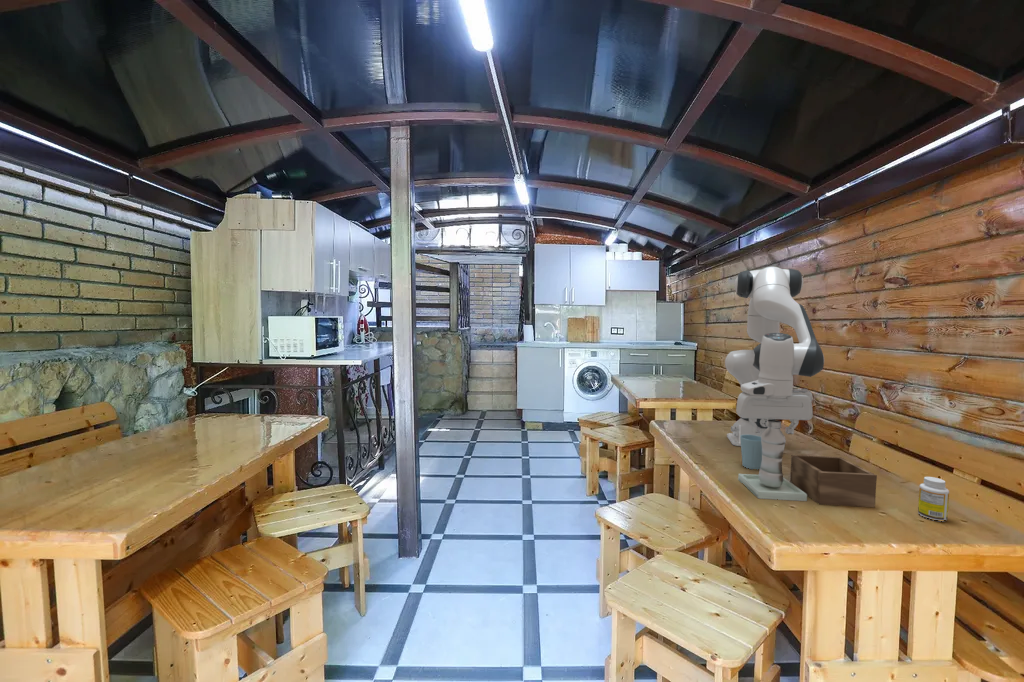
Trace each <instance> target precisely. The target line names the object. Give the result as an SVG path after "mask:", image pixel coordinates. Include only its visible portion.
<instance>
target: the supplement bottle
mask: <svg viewBox="0 0 1024 682" xmlns="http://www.w3.org/2000/svg"><path fill="white" fill-rule="evenodd" d="M923 477H924V478H923V483H920V484H919V487H918V505H917V513H918V515H919V514H920V515H919V516H921V517H922V516H924V517H927V518H930V519H934V520H946V521H947V520H948V517H949V516H948V514H949V501H950V490H949V489H948V488H947V487H946V481H945V480H944V479H941V478H938V477H934V476H923ZM924 517H923V518H924ZM927 518H926V519H927ZM930 519H929V520H930ZM934 520H933V521H934Z"/></svg>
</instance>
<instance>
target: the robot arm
mask: <svg viewBox="0 0 1024 682" xmlns="http://www.w3.org/2000/svg"><path fill="white" fill-rule="evenodd" d="M803 277H804V276H803V275H802V273H801V271H800V270H799V269H794V268H788V269H784V268H781V267H778V266H766V267H764V268H762V269H755V270H749V269H747V270H744V271H743V270H742V271H740V272H739V273H737V276H736V278H735V280H734V284H733V285H734V287H733V288H734V290H735V292H736V295H737V296H738V297H740V298H744V299H748V298H750V299H749V303H748V309H747V318H746V319H747V321H746V323H747V324H746V334H747V336H748V337H749V338H750V339H752V340H754V341H756V342H758V343H759V344H758V345H757V346H755V347H754V348H753V349H740V350H739V349H738V350H737V349H736V350H733V351H729V352H728V354H727V355H726V356H725V359H724V366H725V369H726V370H727V373H729V374H730V375H732V376H733V377H734V378H735V379H736V381H738V384H739V385H740V391H742V392H740V393H739V395H738V396H737V400H736V407H735V409H736V411H735V412H736V414H737V416H739V417H740V418H739V419H738V420H737V421H735V422H734V423H733V425H731V426H730V431H731V432H728V433H726V437H727V439H728V440H729V441H730V443H731V445H732V446H737V447H741V439H740V436H741V435H756V436H760V437H761V436H762V433H763V432H764V431H765V430H766V429H767V428H768V427H767V420H787V421H788V420H789V422H790V424H789V425H788V426H786V427H785V433H786V434H787V435H794V434H795V429H796V428H797V426H798V425H799V421H810V420H811V419H812V418H813V416H814V414H813V412H814V410H813V404H812V401H813V393H812V392H811V390H809V389H808V388H796V387H795V388H794V375H798V376H802V377H810V378H812V377H813V376H816V375H817V374H819V373H820V372H822V370H824V366H825V356H824V352H823V350H822V348H821V346H820V344H819V343H818V340H817V338H816V335H815V331H814V330H813V327H812V324H811V321H810V318H809V315H808V314H807V310H806V309H805V307H804V306H803V305H802V304H801V303H798V302H797V301H796V300H795V299H794V298H795V297H797V296H798V295H799V294H800V293H801V290H802V289H803V287H804V278H803ZM780 323H782V324H785V325H788V326H789V327H791V328H792V329H793V330H794V332H795V334H796V337H797V341H798V343H794V339H793V336H792V335H790V334H788V333H783V332H780V328H781V327H780V325H781V324H780Z"/></svg>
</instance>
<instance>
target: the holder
mask: <svg viewBox="0 0 1024 682" xmlns="http://www.w3.org/2000/svg"><path fill="white" fill-rule="evenodd" d="M790 457H791V459H790V474H789V482H791V483H792V484H794V485H795V486H796V487H798V488H799V489H800V490H802V491H803V492H805V493H806V494H807V497H808V496H809V498H810V499H811V498H812V499H813V500H812V499H811V500H812V501H814V502H815V503H817V504H818V503H819V505H823V504H824V506H825V504H826V506H828V505H829V506H841V505H842V507H844V506H845V507H859V508H860V507H861V508H862V507H863V508H875V507H876V497H877V496H876V494H877V493H876V492H877V479H878V475H877V474H875V473H873V472H872V471H869V470H867V469H866V468H864V467H861V466H859V465H857V464H855V463H853V462H851V461H850V460H847V459H845V458H843V457H841V456H830V455H829V456H825V455H824V456H823V455H802V454H791V456H790Z"/></svg>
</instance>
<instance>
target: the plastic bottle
mask: <svg viewBox="0 0 1024 682" xmlns="http://www.w3.org/2000/svg"><path fill="white" fill-rule="evenodd" d="M767 427H768V428H767V429H766V430H765V431H764V432H763V433H762V436H761V443H762V461H761V468H760V469H759V471H758V474H757V475H758V476H759V481H760V483H761V484H763V485H765V486H768V487H772V488H779V487H780V486H781V485H782V484H783V477H784V475H783V474H784V473H783V455H784V450H785V447H786V446H785V445H786V442H787V441H786V436H785V435H784V433H783V431H782V430H781V429H782V421H781V420H779V419H776V420H767Z"/></svg>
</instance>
